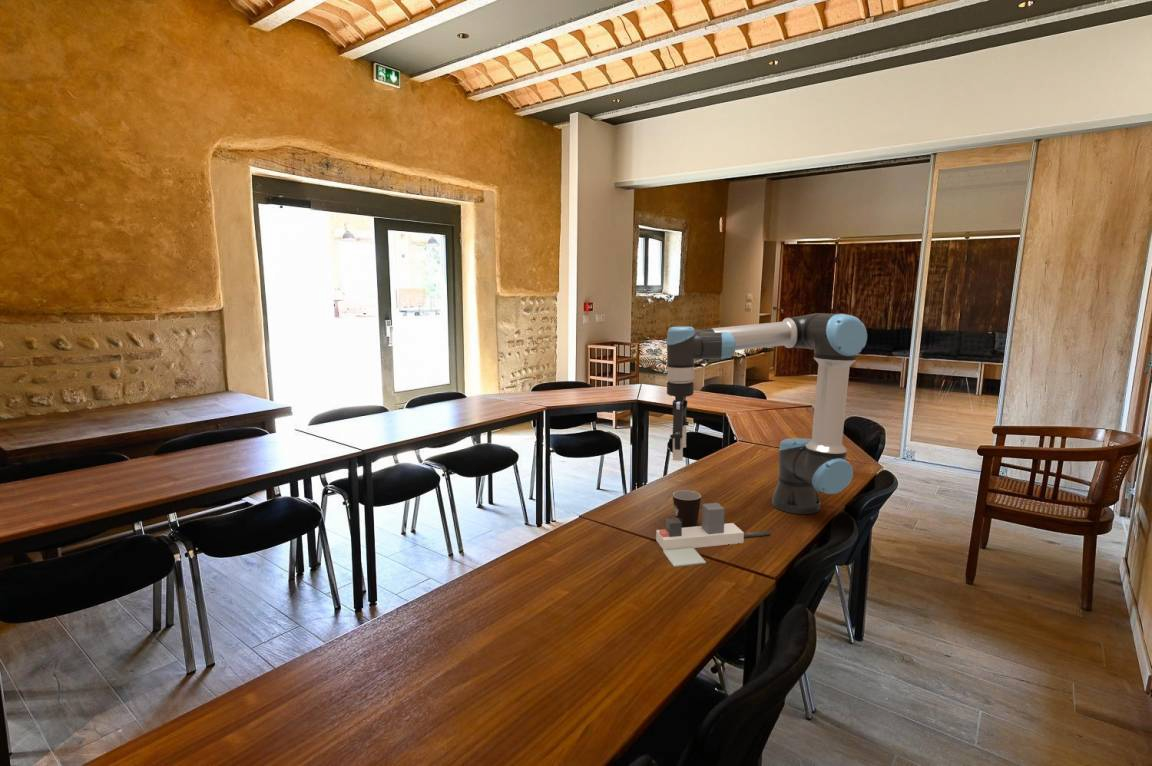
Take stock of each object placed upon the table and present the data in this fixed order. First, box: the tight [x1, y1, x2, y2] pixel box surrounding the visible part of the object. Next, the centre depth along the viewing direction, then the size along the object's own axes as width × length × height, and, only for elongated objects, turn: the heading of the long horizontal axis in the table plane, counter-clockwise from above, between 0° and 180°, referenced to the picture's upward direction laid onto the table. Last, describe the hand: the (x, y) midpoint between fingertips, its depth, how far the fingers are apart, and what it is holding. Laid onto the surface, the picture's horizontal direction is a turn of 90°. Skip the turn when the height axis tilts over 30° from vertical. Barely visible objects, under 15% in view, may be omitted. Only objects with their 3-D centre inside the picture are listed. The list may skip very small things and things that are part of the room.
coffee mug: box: [672, 489, 702, 528], centre depth 177 cm, size 12×9×10 cm
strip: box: [655, 517, 771, 551], centre depth 165 cm, size 34×7×7 cm, turn 100°
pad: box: [662, 548, 707, 568], centre depth 155 cm, size 9×9×1 cm
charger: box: [701, 502, 725, 534], centre depth 165 cm, size 5×5×10 cm
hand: (679, 453), depth 164 cm, fingers open, 13 cm apart
